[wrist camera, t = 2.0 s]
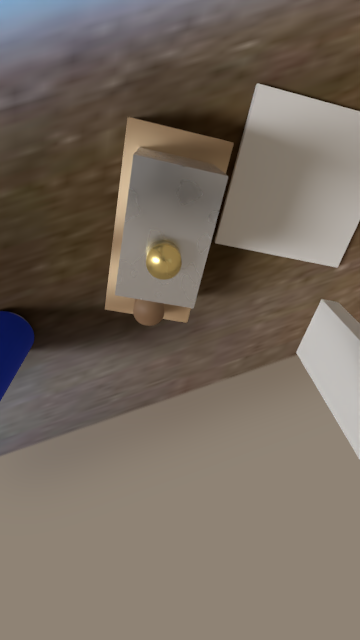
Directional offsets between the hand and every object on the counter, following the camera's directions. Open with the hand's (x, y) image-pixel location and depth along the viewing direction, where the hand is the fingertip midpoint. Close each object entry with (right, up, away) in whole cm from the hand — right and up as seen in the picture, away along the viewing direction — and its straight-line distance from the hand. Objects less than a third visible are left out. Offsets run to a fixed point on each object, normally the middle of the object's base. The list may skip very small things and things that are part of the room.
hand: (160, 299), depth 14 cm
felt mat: (+11, +10, +15) cm, 22 cm away
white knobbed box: (0, +7, +11) cm, 13 cm away
